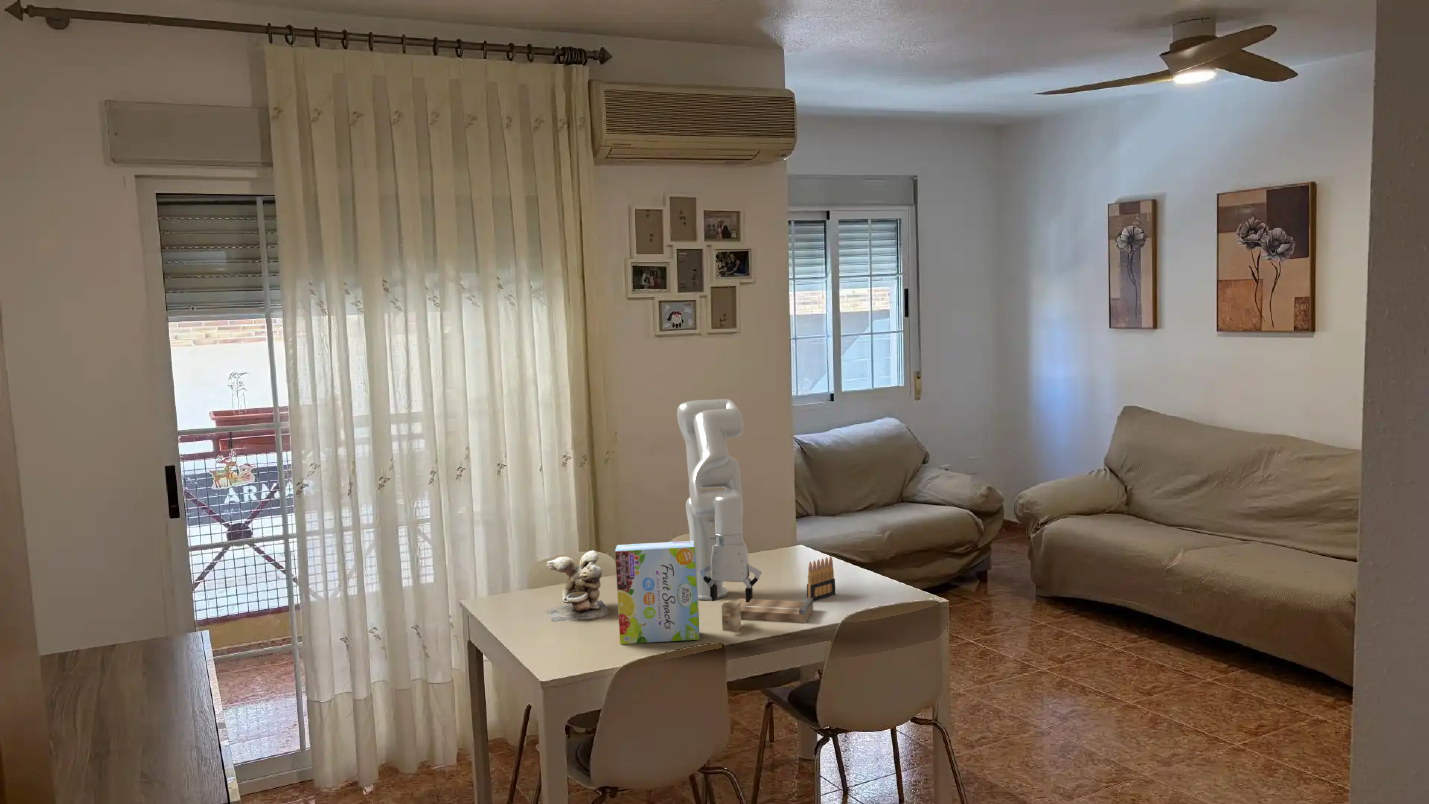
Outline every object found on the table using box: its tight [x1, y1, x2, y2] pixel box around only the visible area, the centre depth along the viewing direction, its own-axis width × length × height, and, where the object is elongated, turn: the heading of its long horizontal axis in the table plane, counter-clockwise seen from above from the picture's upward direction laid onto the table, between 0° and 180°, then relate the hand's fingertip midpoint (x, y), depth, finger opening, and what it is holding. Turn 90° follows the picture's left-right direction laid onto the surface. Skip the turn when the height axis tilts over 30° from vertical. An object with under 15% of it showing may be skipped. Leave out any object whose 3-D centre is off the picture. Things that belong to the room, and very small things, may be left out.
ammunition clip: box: [806, 556, 837, 602], centre depth 321 cm, size 11×2×12 cm, turn 131°
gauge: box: [721, 600, 742, 632], centre depth 295 cm, size 4×11×7 cm, turn 164°
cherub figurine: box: [544, 550, 610, 623], centre depth 315 cm, size 18×18×18 cm
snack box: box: [614, 540, 700, 645], centre depth 288 cm, size 22×9×26 cm, turn 93°
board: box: [737, 597, 814, 624], centre depth 307 cm, size 22×12×4 cm, turn 74°
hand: (731, 600), depth 294 cm, fingers open, 9 cm apart
